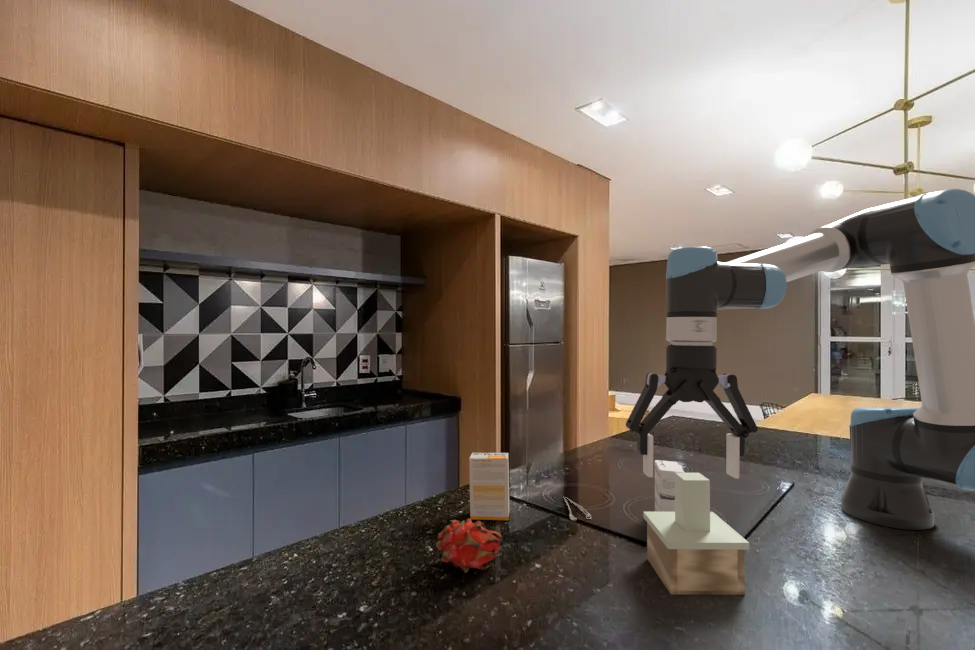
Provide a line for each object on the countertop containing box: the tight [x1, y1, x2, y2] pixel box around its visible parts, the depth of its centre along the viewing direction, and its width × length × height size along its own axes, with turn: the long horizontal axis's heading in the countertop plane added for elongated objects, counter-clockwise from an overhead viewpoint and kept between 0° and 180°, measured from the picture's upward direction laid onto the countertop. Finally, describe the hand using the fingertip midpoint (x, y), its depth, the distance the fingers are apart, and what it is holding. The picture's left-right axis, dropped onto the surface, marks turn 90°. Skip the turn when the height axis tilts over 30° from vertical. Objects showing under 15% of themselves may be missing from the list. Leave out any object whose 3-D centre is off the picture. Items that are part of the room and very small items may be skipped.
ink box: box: [653, 459, 686, 512], centre depth 98 cm, size 9×5×12 cm, turn 168°
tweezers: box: [562, 496, 593, 521], centre depth 108 cm, size 17×5×2 cm, turn 6°
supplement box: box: [468, 452, 510, 522], centre depth 101 cm, size 8×5×13 cm, turn 84°
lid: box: [642, 472, 750, 551], centre depth 77 cm, size 12×12×10 cm
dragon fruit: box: [434, 518, 506, 574], centre depth 80 cm, size 8×8×12 cm
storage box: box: [646, 522, 746, 596], centre depth 77 cm, size 11×11×7 cm
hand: (690, 475), depth 77 cm, fingers open, 13 cm apart
